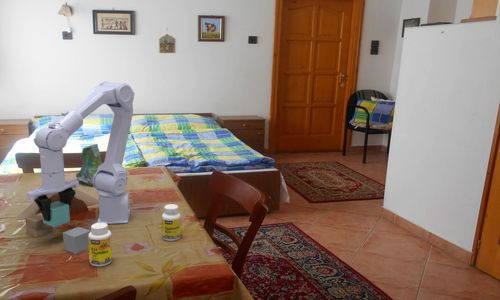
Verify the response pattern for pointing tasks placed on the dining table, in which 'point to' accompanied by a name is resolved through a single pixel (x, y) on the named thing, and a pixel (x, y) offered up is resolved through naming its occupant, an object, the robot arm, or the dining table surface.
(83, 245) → the slate block
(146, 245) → the dining table surface
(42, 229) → the tan cube
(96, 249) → the supplement bottle
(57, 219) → the teal block
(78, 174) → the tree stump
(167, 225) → the supplement bottle
